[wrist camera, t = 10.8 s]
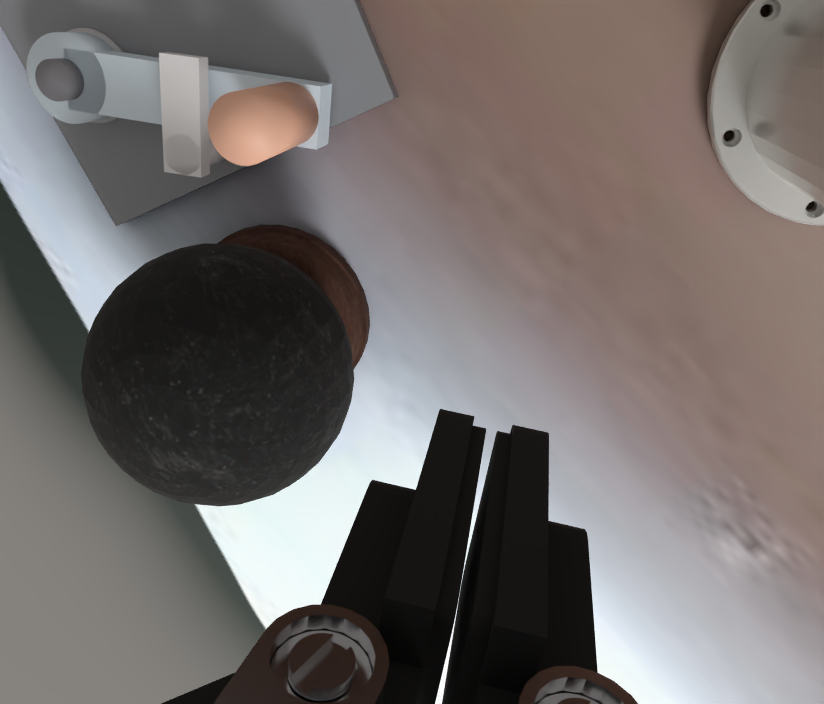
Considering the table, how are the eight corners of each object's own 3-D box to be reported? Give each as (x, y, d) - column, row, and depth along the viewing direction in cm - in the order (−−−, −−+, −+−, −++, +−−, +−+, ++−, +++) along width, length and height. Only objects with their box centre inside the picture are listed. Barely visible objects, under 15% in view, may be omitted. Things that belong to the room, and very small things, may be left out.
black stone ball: (400, 404, 44) (334, 566, 31) (210, 410, 47) (75, 562, 34) (366, 196, 39) (270, 283, 26) (155, 218, 42) (-30, 307, 28)
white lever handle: (55, 113, 39) (-57, 131, 32) (47, 26, 37) (-74, 25, 30) (327, 157, 37) (273, 187, 30) (333, 69, 35) (277, 78, 28)
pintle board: (125, 222, 42) (77, 243, 38) (-16, -26, 38) (-89, -33, 33) (398, 96, 36) (377, 105, 32) (271, -215, 32) (227, -253, 28)
